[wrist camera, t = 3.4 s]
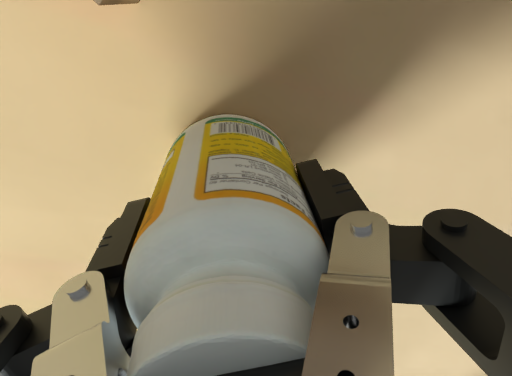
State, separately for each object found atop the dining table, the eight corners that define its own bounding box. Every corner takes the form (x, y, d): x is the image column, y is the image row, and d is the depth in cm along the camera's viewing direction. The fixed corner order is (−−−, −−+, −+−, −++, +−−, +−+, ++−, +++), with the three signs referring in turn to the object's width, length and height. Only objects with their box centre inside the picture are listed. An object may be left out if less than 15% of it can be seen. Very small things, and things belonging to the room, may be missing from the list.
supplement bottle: (258, 87, 13) (325, 252, 4) (306, 194, 15) (407, 425, 7) (138, 147, 14) (4, 383, 5) (203, 239, 16) (183, 495, 8)
